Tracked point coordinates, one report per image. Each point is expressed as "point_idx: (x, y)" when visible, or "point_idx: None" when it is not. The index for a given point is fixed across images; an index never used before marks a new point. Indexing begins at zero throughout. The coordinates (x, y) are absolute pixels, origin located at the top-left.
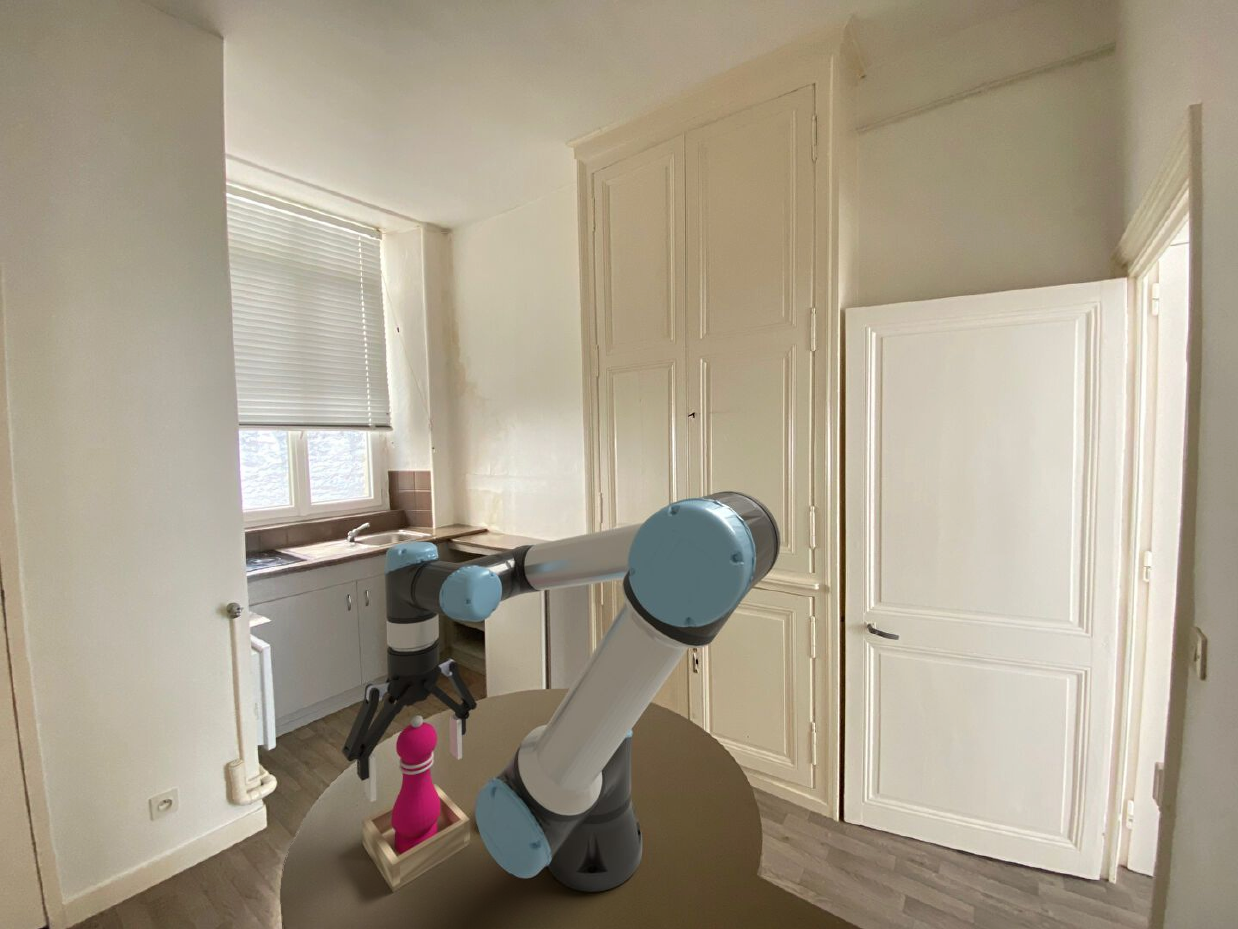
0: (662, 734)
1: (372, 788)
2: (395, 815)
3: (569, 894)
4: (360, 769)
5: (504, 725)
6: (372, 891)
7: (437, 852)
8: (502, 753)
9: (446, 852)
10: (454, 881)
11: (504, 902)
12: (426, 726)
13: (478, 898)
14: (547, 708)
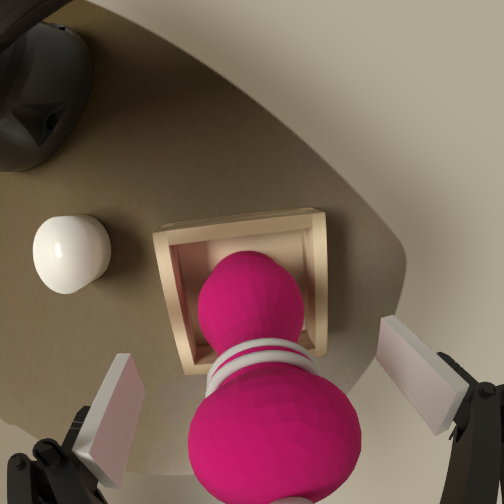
0: None
1: (408, 334)
2: (303, 308)
3: (96, 44)
4: (464, 370)
5: (63, 423)
6: (331, 231)
7: (229, 218)
8: (68, 382)
9: (211, 219)
10: (218, 160)
11: (170, 74)
12: (243, 493)
13: (199, 103)
14: (12, 407)
